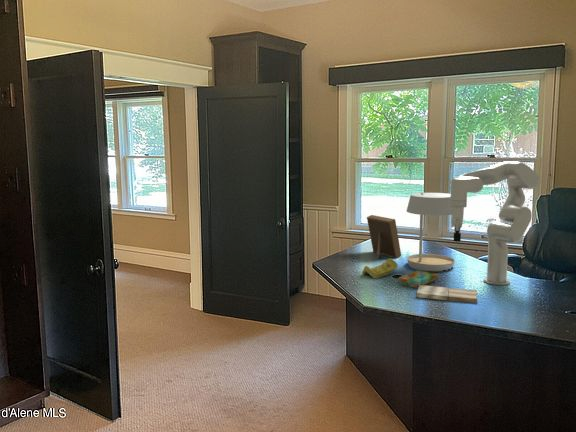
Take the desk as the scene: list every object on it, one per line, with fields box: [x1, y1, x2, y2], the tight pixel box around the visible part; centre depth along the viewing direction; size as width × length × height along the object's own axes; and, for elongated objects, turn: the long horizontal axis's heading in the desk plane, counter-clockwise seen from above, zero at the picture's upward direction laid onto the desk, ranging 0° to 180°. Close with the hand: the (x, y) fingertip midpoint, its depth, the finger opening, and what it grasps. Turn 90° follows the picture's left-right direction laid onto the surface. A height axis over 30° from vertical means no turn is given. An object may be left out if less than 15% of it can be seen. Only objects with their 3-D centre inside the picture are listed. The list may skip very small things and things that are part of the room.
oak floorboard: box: [447, 287, 478, 304], centre depth 248 cm, size 14×13×2 cm
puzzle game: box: [397, 270, 439, 289], centre depth 273 cm, size 12×5×20 cm
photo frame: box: [366, 214, 402, 259], centre depth 332 cm, size 15×22×25 cm
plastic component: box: [361, 257, 398, 279], centre depth 291 cm, size 20×7×10 cm
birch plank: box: [416, 285, 450, 301], centre depth 252 cm, size 14×14×2 cm
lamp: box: [406, 192, 456, 272], centre depth 304 cm, size 29×29×43 cm
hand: (457, 240), depth 255 cm, fingers closed
